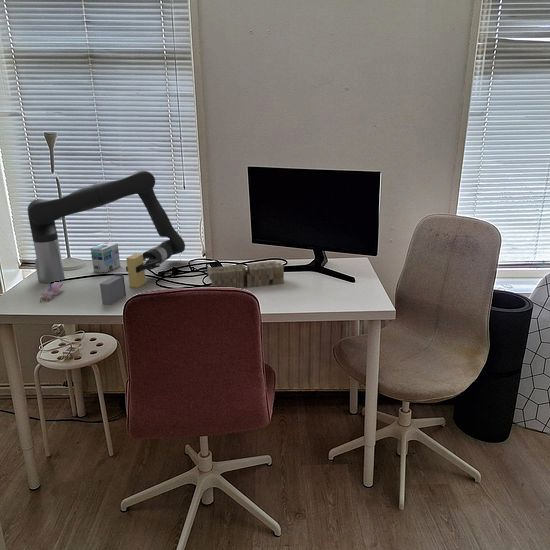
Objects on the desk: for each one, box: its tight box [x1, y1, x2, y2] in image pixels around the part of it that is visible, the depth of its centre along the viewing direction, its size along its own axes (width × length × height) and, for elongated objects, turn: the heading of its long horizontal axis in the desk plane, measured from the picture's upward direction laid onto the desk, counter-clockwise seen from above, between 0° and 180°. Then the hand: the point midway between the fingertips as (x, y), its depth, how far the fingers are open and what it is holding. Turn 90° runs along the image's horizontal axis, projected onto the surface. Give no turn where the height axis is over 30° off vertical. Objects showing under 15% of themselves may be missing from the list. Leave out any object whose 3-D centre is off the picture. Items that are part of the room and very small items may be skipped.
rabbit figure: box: [39, 281, 65, 303], centre depth 187 cm, size 6×6×15 cm
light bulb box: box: [90, 241, 121, 273], centre depth 216 cm, size 11×7×11 cm, turn 160°
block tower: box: [206, 260, 285, 289], centre depth 194 cm, size 8×8×29 cm
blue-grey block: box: [99, 273, 127, 306], centre depth 181 cm, size 10×4×8 cm, turn 163°
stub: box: [126, 253, 147, 289], centre depth 195 cm, size 6×4×12 cm, turn 163°
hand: (132, 269), depth 192 cm, fingers open, 3 cm apart
